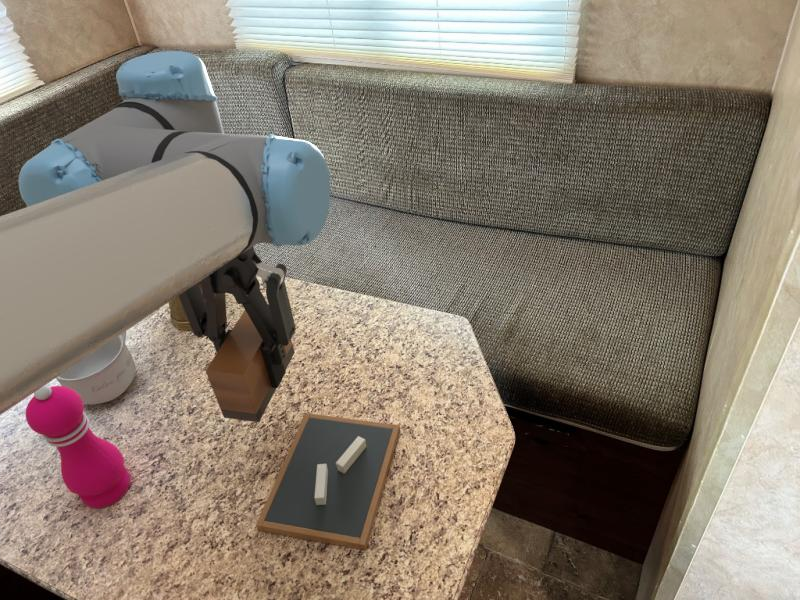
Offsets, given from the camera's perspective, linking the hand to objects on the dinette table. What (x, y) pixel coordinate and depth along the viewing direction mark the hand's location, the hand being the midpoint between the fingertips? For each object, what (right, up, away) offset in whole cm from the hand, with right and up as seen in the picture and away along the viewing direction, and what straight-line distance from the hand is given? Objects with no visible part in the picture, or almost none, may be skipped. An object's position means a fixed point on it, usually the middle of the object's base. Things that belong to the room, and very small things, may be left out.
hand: (259, 377), depth 76 cm
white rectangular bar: (+8, -14, +2) cm, 16 cm away
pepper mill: (-22, -16, +6) cm, 28 cm away
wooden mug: (-17, +7, +34) cm, 38 cm away
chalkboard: (+9, -14, +4) cm, 17 cm away
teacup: (-29, -4, +22) cm, 36 cm away
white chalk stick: (+11, -11, +5) cm, 17 cm away
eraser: (0, -1, +1) cm, 1 cm away
